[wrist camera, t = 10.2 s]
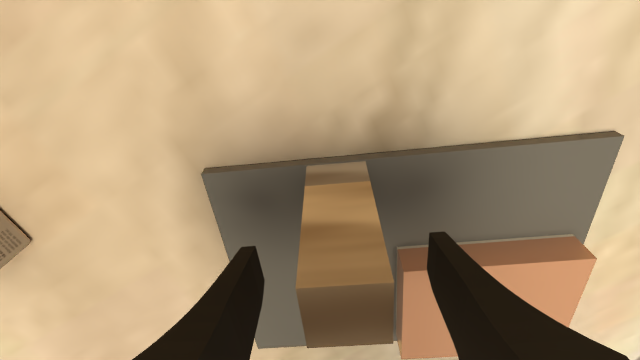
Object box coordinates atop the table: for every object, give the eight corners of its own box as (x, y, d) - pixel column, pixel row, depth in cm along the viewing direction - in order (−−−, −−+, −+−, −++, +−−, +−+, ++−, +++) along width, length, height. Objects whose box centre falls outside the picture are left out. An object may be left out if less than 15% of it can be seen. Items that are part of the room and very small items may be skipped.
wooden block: (367, 209, 19) (393, 343, 12) (312, 213, 19) (307, 348, 12) (365, 160, 17) (393, 282, 10) (306, 165, 17) (295, 288, 10)
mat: (545, 324, 24) (550, 332, 24) (259, 341, 26) (258, 348, 25) (614, 131, 17) (624, 135, 16) (204, 168, 18) (201, 174, 18)
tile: (395, 332, 24) (540, 323, 23) (401, 359, 22) (558, 350, 22) (396, 246, 20) (572, 234, 19) (403, 271, 18) (597, 258, 18)
